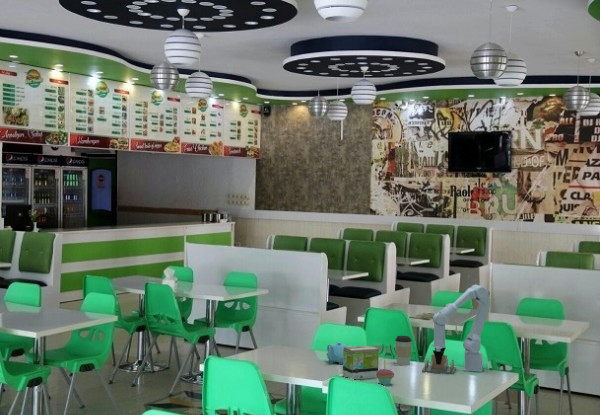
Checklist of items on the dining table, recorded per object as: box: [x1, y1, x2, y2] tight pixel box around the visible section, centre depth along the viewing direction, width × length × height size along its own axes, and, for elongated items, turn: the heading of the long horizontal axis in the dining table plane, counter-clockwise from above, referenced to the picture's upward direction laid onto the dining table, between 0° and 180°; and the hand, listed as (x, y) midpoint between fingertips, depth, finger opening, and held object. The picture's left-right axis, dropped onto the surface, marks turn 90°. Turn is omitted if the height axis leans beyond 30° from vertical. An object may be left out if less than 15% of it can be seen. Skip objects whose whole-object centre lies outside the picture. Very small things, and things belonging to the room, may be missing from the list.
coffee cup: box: [394, 335, 413, 366], centre depth 418 cm, size 9×9×15 cm
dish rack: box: [421, 357, 457, 375], centre depth 402 cm, size 16×14×5 cm
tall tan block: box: [430, 353, 448, 369], centre depth 402 cm, size 8×2×7 cm, turn 75°
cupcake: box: [376, 358, 395, 386], centre depth 370 cm, size 9×8×12 cm
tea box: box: [342, 345, 380, 380], centre depth 384 cm, size 15×10×15 cm, turn 117°
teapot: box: [326, 341, 349, 365], centre depth 419 cm, size 13×14×11 cm
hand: (439, 363), depth 402 cm, fingers open, 7 cm apart
